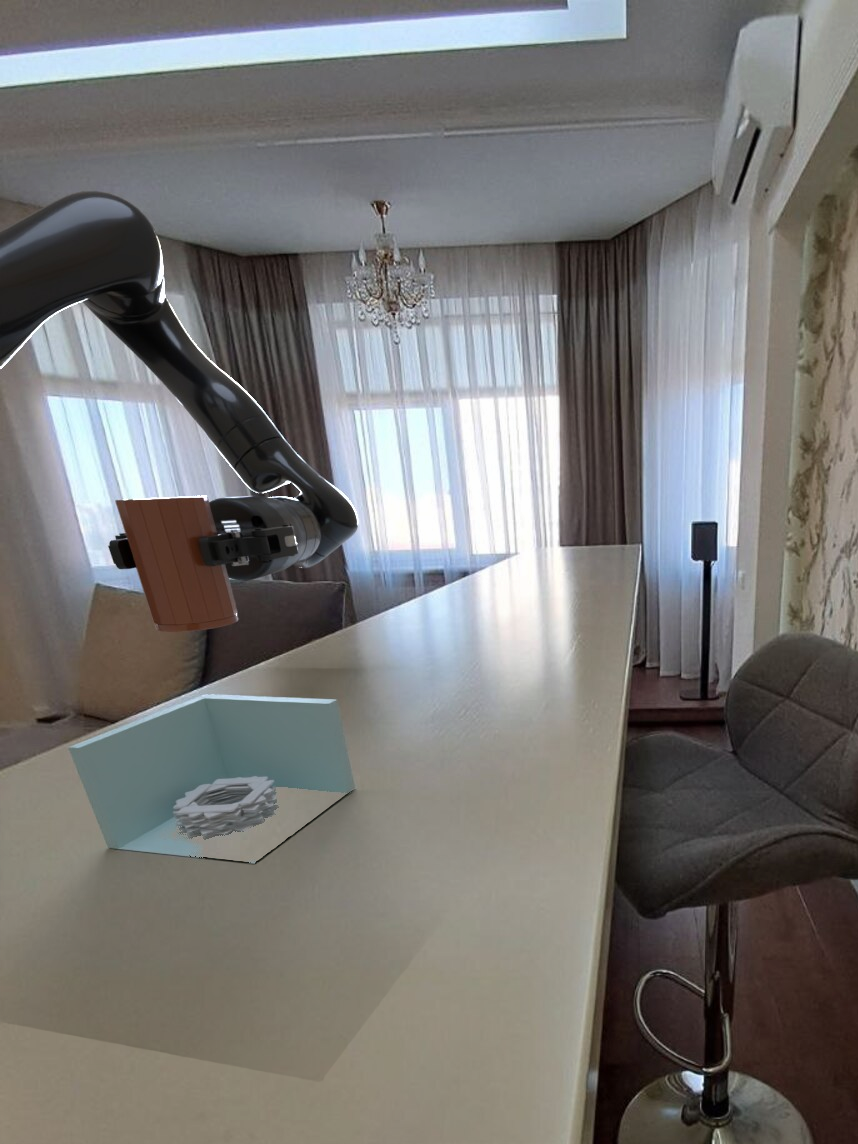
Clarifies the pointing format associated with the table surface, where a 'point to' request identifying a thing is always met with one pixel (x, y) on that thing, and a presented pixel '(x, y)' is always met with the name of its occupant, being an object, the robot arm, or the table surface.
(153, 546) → the cup
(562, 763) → the table surface
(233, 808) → the right angle wall
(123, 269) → the robot arm
